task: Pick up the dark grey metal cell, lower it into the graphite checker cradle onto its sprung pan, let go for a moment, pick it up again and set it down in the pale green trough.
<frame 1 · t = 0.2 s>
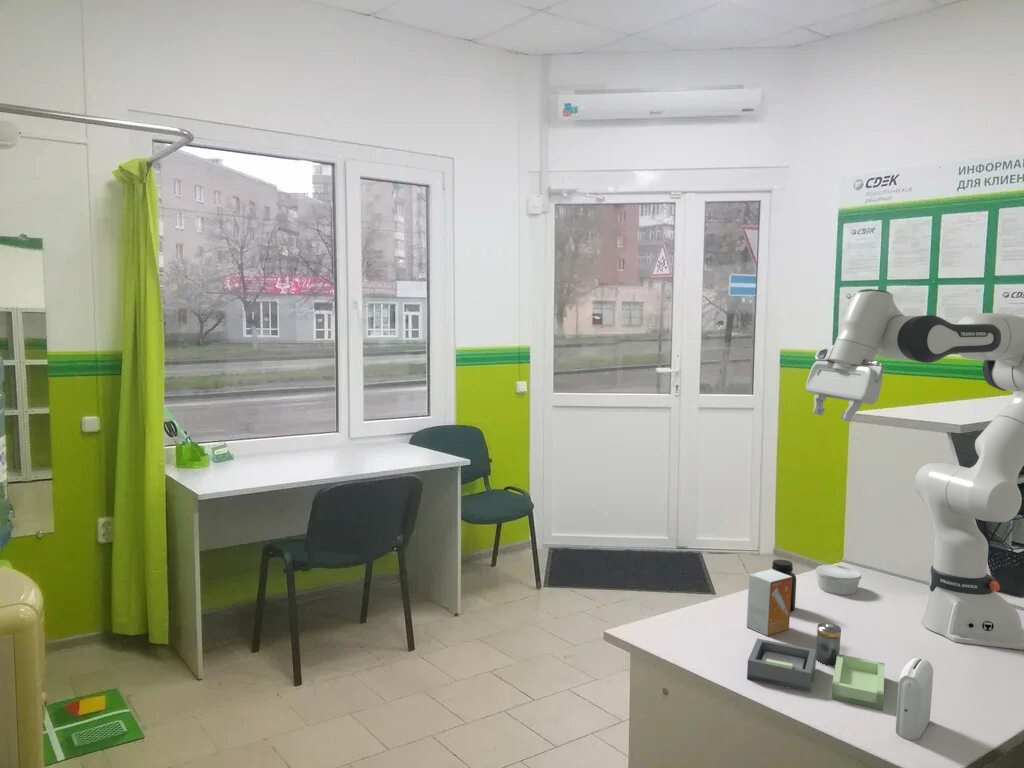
hand: (830, 417, 173), 52 cm above the table, tool tilted 20°, fingers open, 8 cm apart
ramekin: (837, 590, 212), on the table
green trough: (858, 687, 156), on the table
small box: (767, 629, 185), on the table
supplement bottle: (780, 608, 198), on the table
grey cell: (827, 661, 168), on the table
checker cradle: (781, 673, 161), on the table
sprung pan: (782, 664, 161), point 2 cm above the table, slide at -0.4 cm
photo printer: (912, 728, 141), on the table
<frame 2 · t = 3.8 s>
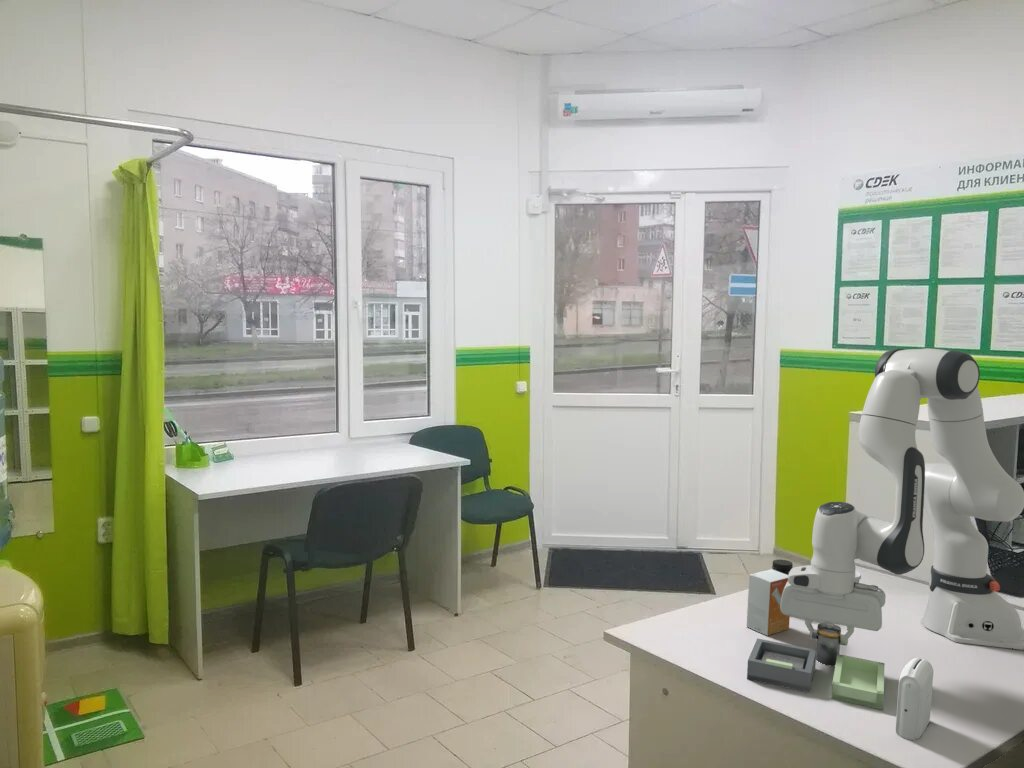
hand: (828, 641, 167), 4 cm above the table, tool pointing down, fingers closed on grey cell, 5 cm apart
grey cell: (827, 661, 168), on the table, touching gripper
everything else where it was.
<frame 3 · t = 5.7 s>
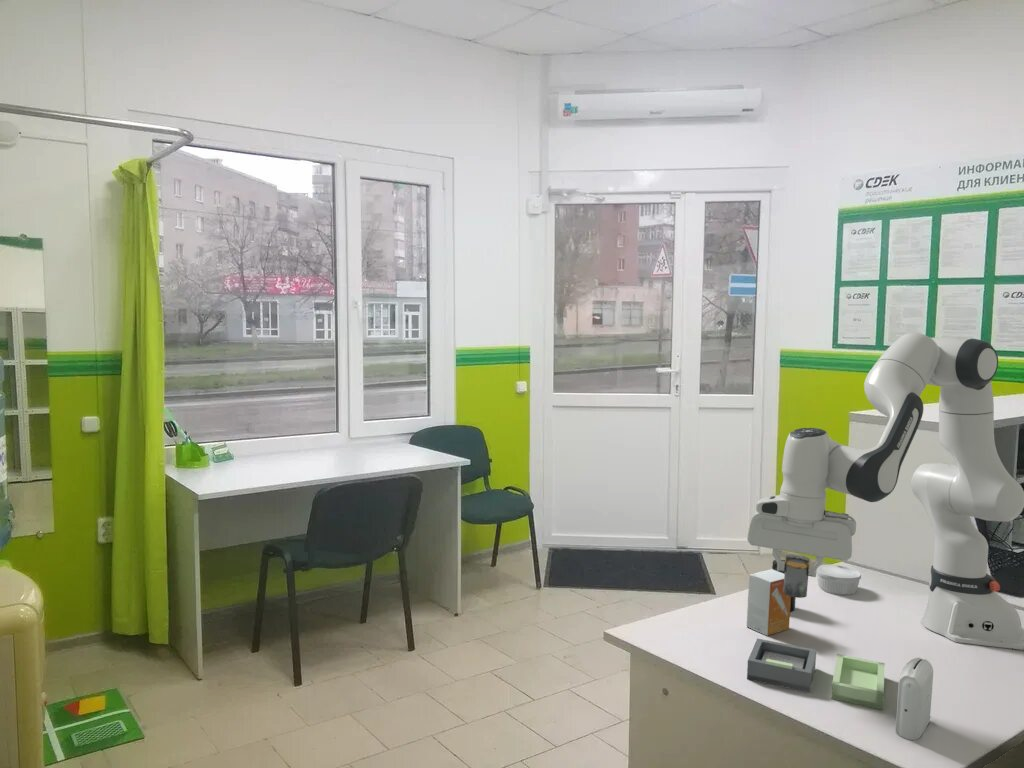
hand: (796, 573, 161), 21 cm above the table, tool pointing down, fingers closed on grey cell, 5 cm apart
grey cell: (794, 593, 161), point 17 cm above the table, touching gripper
everything else where it was.
when the fingers open (8 cm above the table, at t = 7.6 s): grey cell drops 2 cm, resting on sprung pan.
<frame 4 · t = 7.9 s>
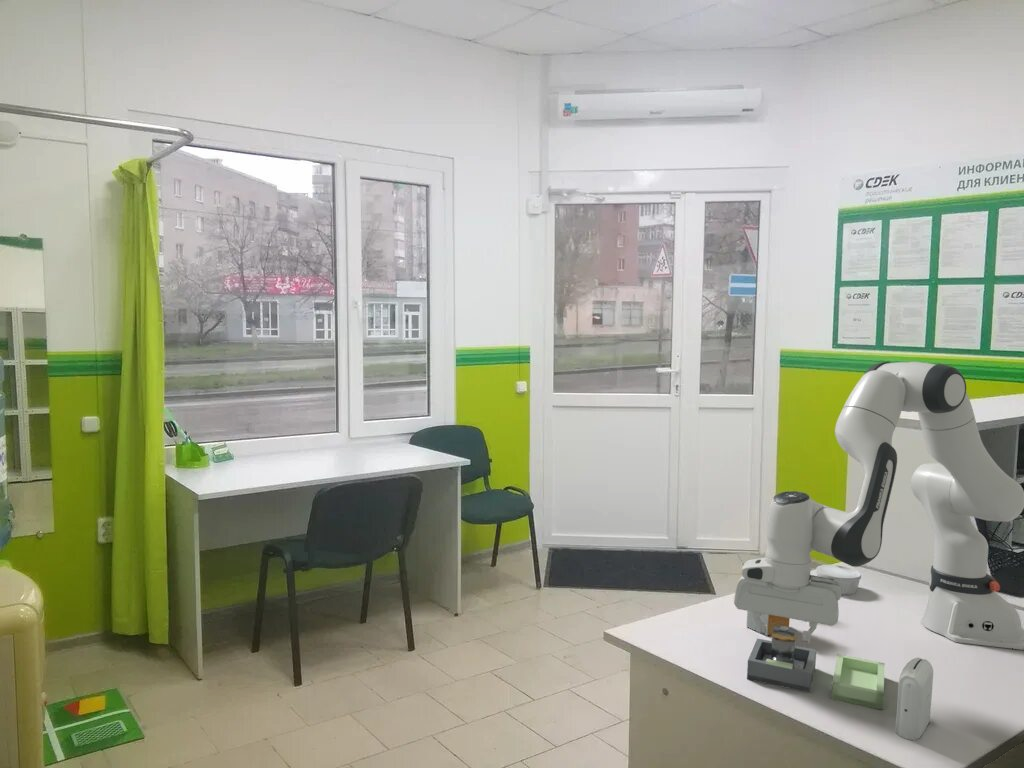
hand: (783, 636, 161), 8 cm above the table, tool pointing down, fingers open, 7 cm apart
grey cell: (782, 665, 161), point 2 cm above the table, touching sprung pan
sprung pan: (782, 667, 161), point 1 cm above the table, slide at -1.0 cm, touching checker cradle, grey cell
everything else where it was.
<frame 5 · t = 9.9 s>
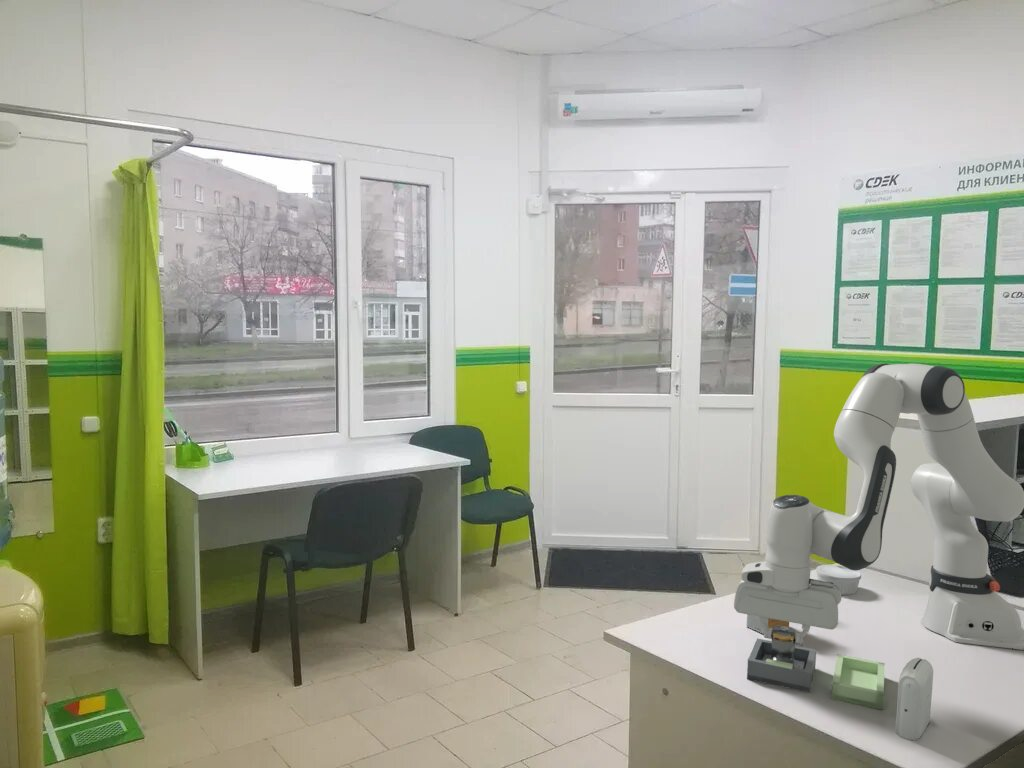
hand: (783, 640, 161), 7 cm above the table, tool pointing down, fingers closed on grey cell, 5 cm apart
grey cell: (782, 665, 161), point 2 cm above the table, touching gripper, sprung pan
everything else where it was.
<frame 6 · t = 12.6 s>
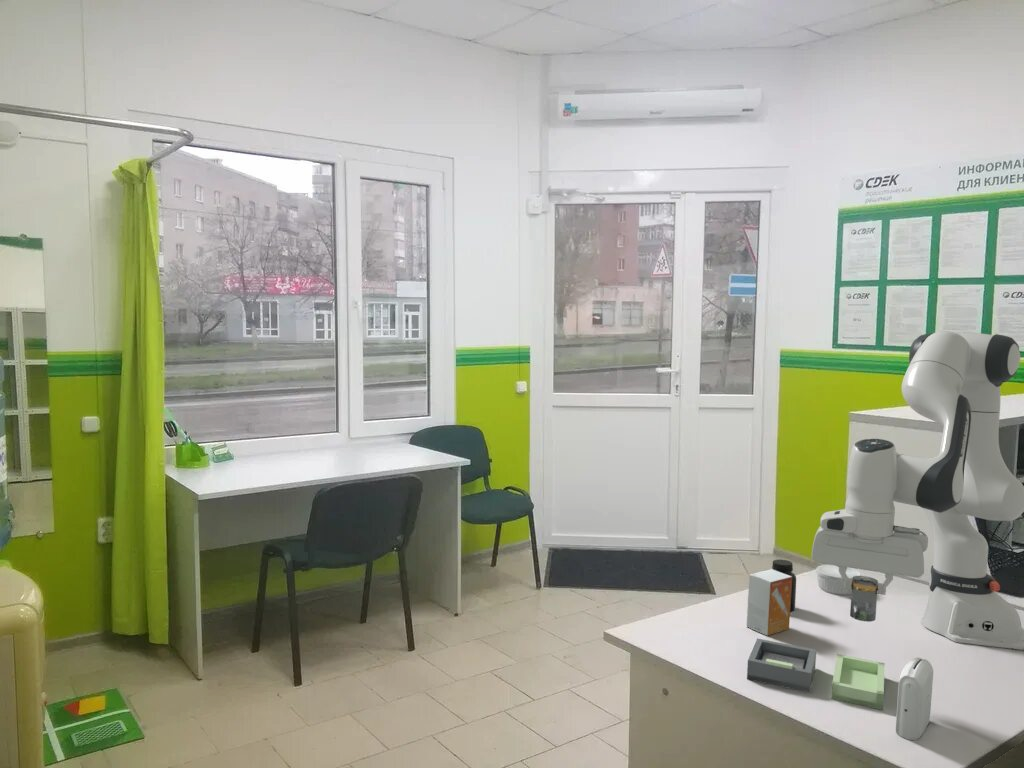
hand: (864, 590, 154), 20 cm above the table, tool pointing down, fingers closed on grey cell, 5 cm apart
grey cell: (862, 616, 155), point 15 cm above the table, touching gripper
sprung pan: (782, 665, 161), point 2 cm above the table, slide at -0.6 cm
everything else where it was.
when the fingers open (7 cm above the table, at t = 15.2 s): grey cell stays where it is, resting on green trough.
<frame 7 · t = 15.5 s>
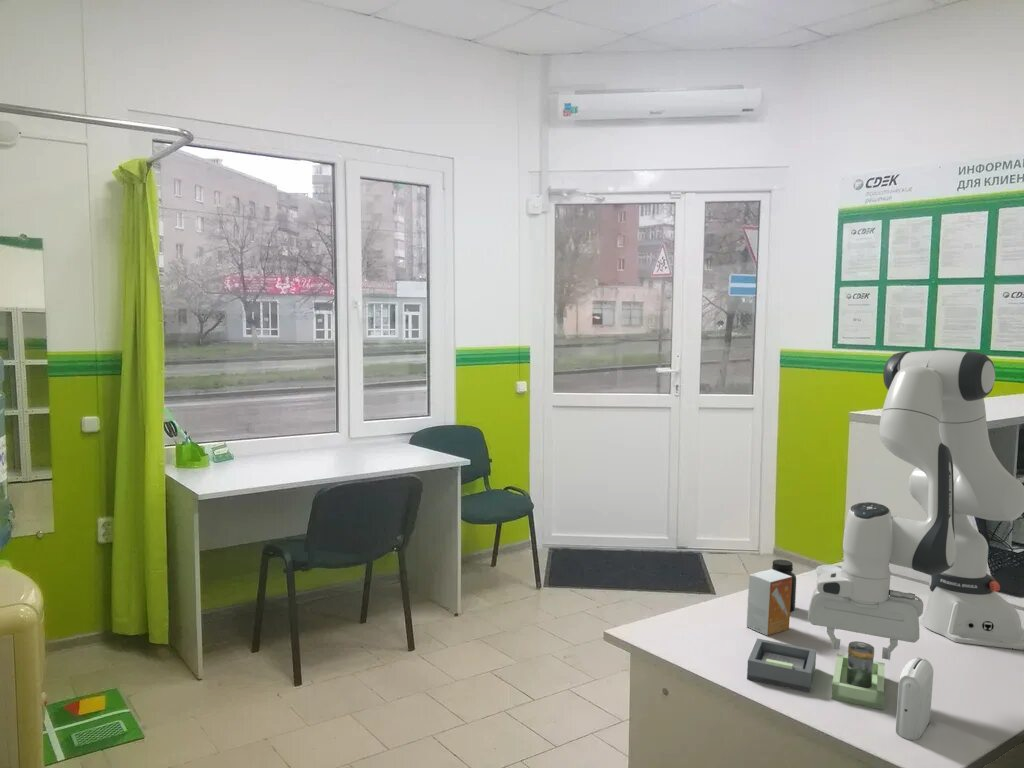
hand: (860, 653, 155), 7 cm above the table, tool pointing down, fingers open, 8 cm apart
grey cell: (859, 682, 156), point 1 cm above the table, touching green trough
everything else where it was.
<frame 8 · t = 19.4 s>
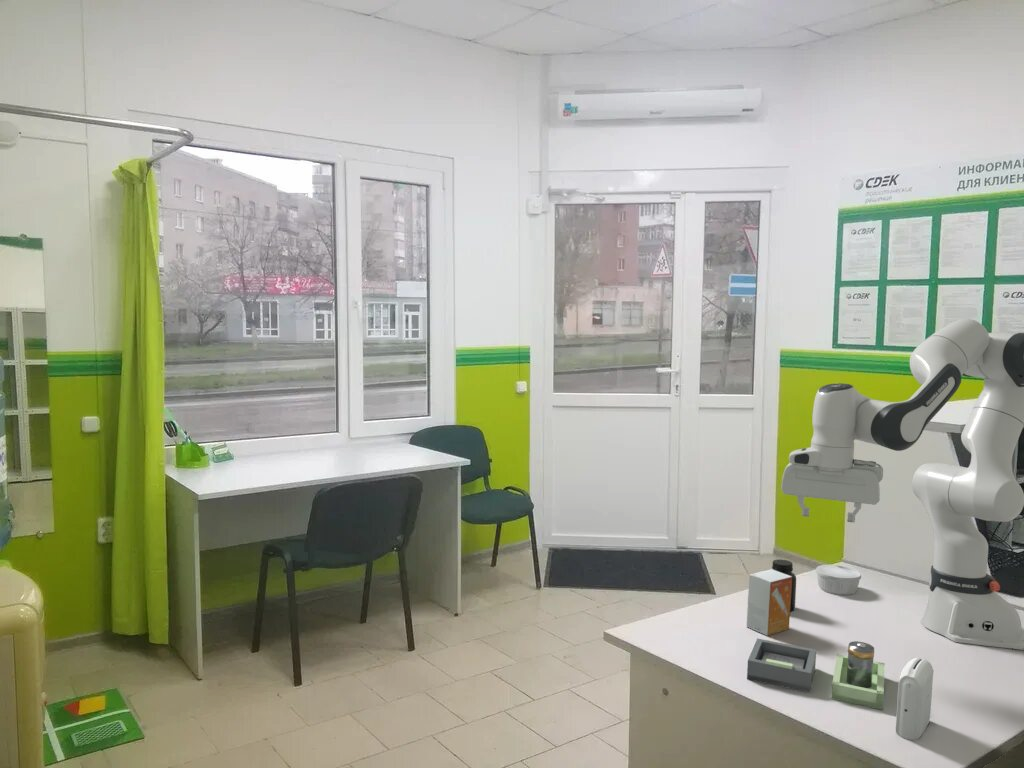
hand: (828, 518, 173), 29 cm above the table, tool pointing down, fingers open, 8 cm apart
nothing on the table moved.
at the end: grey cell inside the target area on the green trough (0.1 cm from its centre), point 1.0 cm above the green trough's base; grey cell tilted 0°; the gripper is holding nothing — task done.
